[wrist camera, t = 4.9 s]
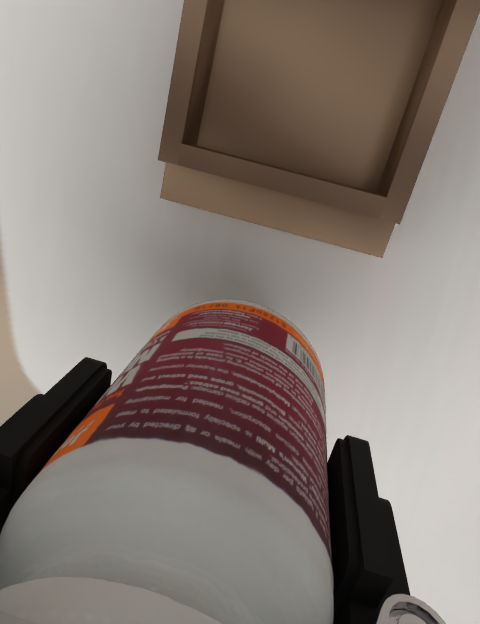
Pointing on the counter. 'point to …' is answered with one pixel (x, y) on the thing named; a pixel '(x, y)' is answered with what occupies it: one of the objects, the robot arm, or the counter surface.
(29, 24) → the counter surface
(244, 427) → the pill bottle
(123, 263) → the counter surface
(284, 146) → the caddy
